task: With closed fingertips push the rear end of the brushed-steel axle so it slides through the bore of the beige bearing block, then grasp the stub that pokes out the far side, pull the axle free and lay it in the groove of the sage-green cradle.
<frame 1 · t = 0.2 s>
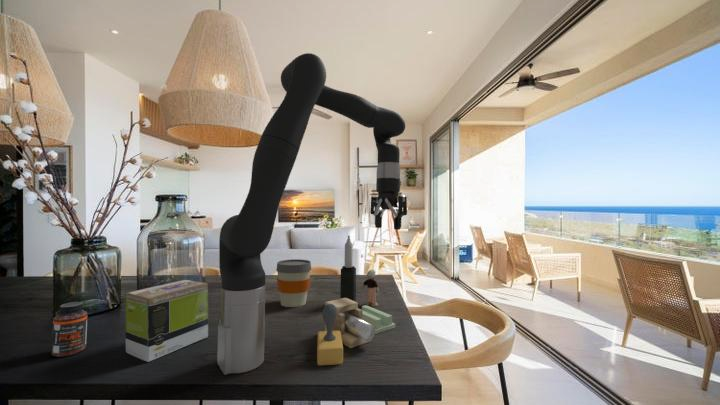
hand: (387, 228, 95), 29 cm above the table, tool pointing down, fingers open, 8 cm apart
tea box: (168, 346, 75), on the table
cradle: (371, 323, 91), on the table
beige bearing block: (343, 334, 83), on the table
reusable coffee cup: (293, 303, 109), on the table
grandmother figurine: (370, 304, 109), on the table
rubber stamp: (329, 355, 72), on the table
axle: (352, 324, 80), point 4 cm above the table, touching beige bearing block
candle: (348, 303, 110), on the table
supplement bottle: (69, 352, 71), on the table
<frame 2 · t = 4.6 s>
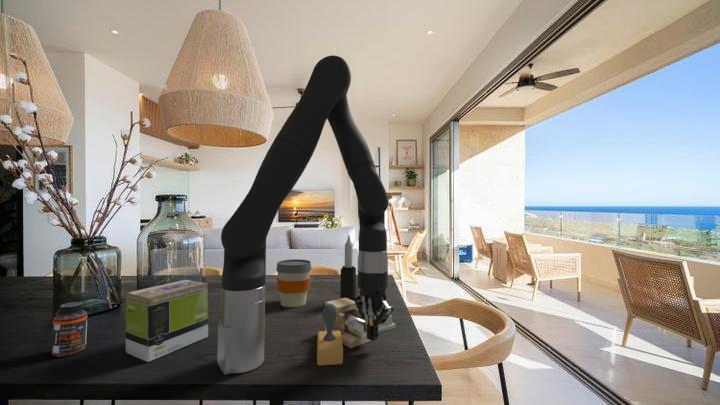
hand: (372, 339, 73), 3 cm above the table, tool pointing down, fingers closed
axle: (349, 322, 81), point 4 cm above the table, touching beige bearing block, gripper
everything else where it was.
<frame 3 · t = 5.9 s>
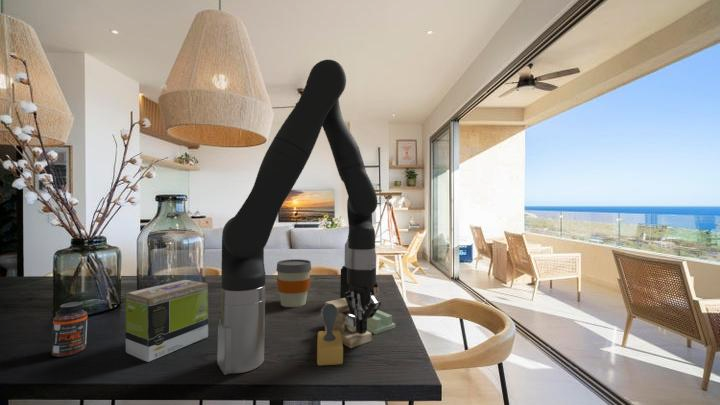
hand: (361, 332, 77), 3 cm above the table, tool pointing down, fingers closed
axle: (340, 317, 84), point 4 cm above the table, touching beige bearing block, gripper
everything else where it was.
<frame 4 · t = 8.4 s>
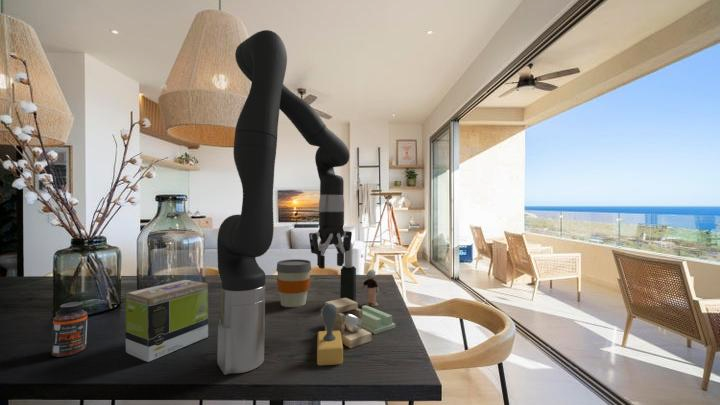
hand: (330, 266, 89), 18 cm above the table, tool pointing down, fingers open, 6 cm apart
axle: (340, 317, 84), point 4 cm above the table, touching beige bearing block
everything else where it was.
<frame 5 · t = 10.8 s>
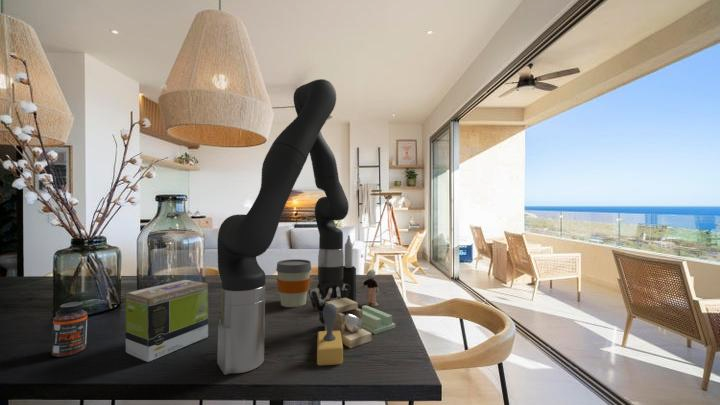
hand: (330, 321, 88), 1 cm above the table, tool pointing down, fingers closed on axle, 4 cm apart
axle: (340, 317, 84), point 4 cm above the table, touching beige bearing block, gripper
everything else where it was.
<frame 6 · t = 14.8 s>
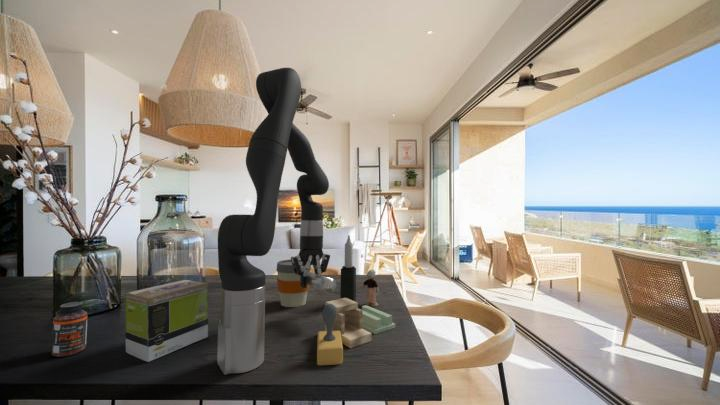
hand: (310, 286, 98), 9 cm above the table, tool pointing down, fingers closed on axle, 4 cm apart
axle: (318, 281, 94), point 12 cm above the table, touching gripper
everything else where it was.
when the fingers open (4 cm above the table, at t = 19.0 s): axle drops 2 cm, resting on cradle.
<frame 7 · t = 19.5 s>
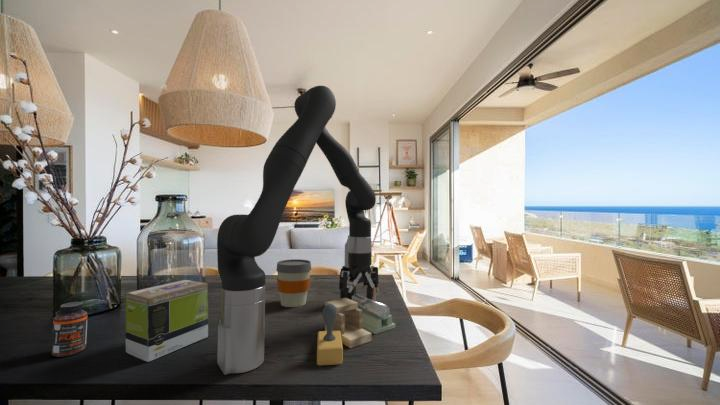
hand: (359, 301, 95), 5 cm above the table, tool pointing down, fingers open, 8 cm apart
axle: (369, 306, 91), point 5 cm above the table, touching cradle
everything else where it was.
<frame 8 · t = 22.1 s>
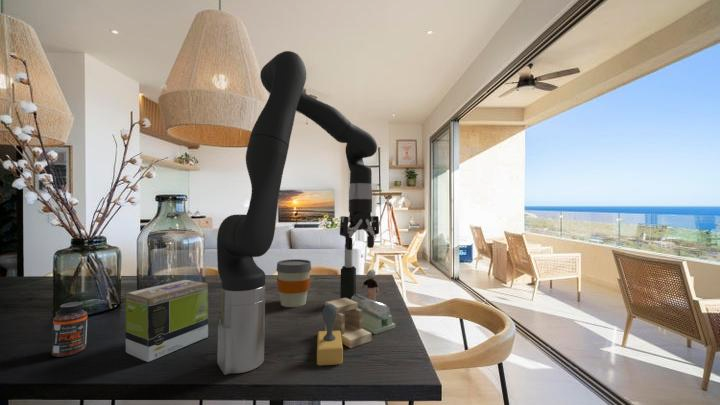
hand: (359, 248, 96), 22 cm above the table, tool pointing down, fingers open, 8 cm apart
nothing on the table moved.
at the end: axle inside the target area on the cradle (0.9 cm from its centre), point 5.1 cm above the cradle's base; axle touching cradle; the gripper is holding nothing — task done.
